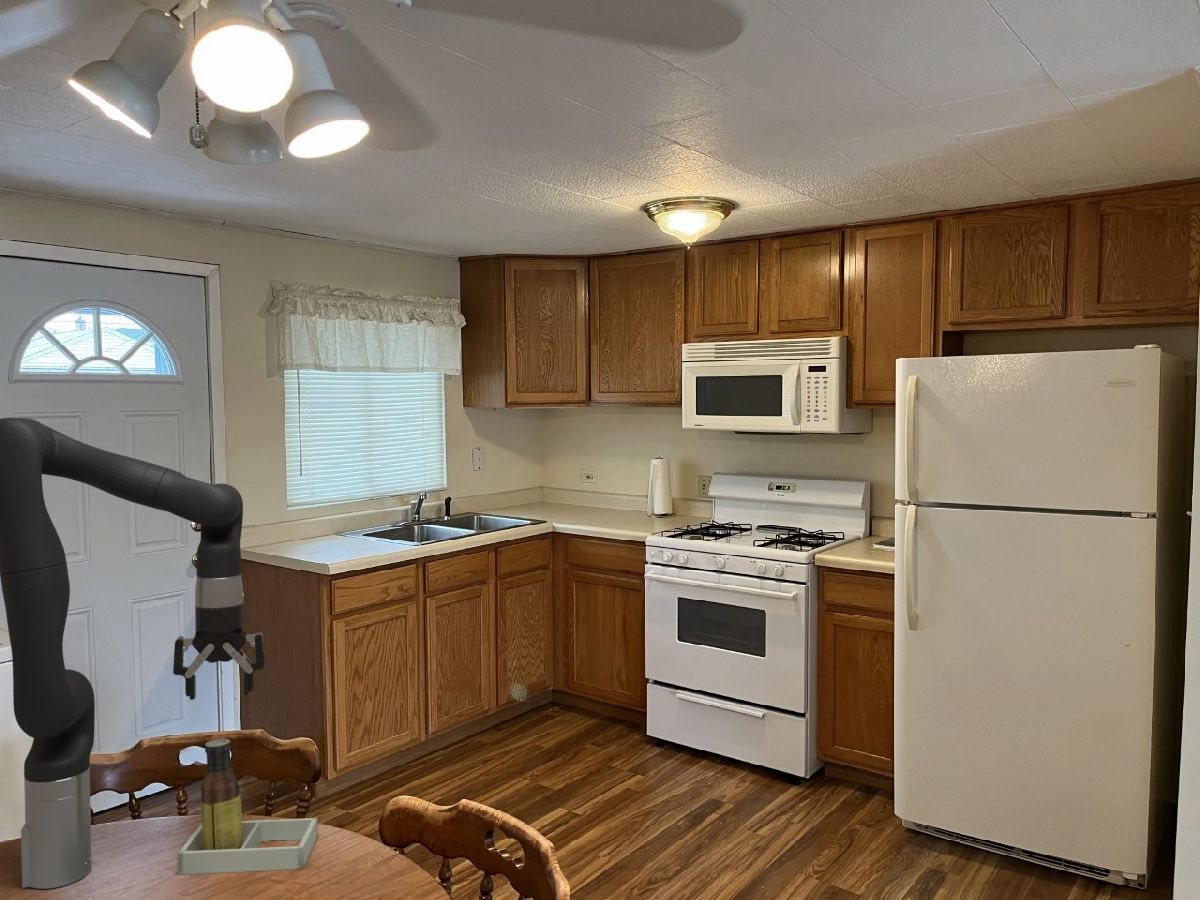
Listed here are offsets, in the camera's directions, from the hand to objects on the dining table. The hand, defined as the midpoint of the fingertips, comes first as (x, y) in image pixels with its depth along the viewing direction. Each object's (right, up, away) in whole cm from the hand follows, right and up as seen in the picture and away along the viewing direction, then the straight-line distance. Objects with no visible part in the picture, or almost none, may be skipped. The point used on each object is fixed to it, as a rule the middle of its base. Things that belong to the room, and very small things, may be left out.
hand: (220, 696), depth 154 cm
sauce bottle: (0, -28, +1) cm, 28 cm away
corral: (+5, -28, +1) cm, 28 cm away
